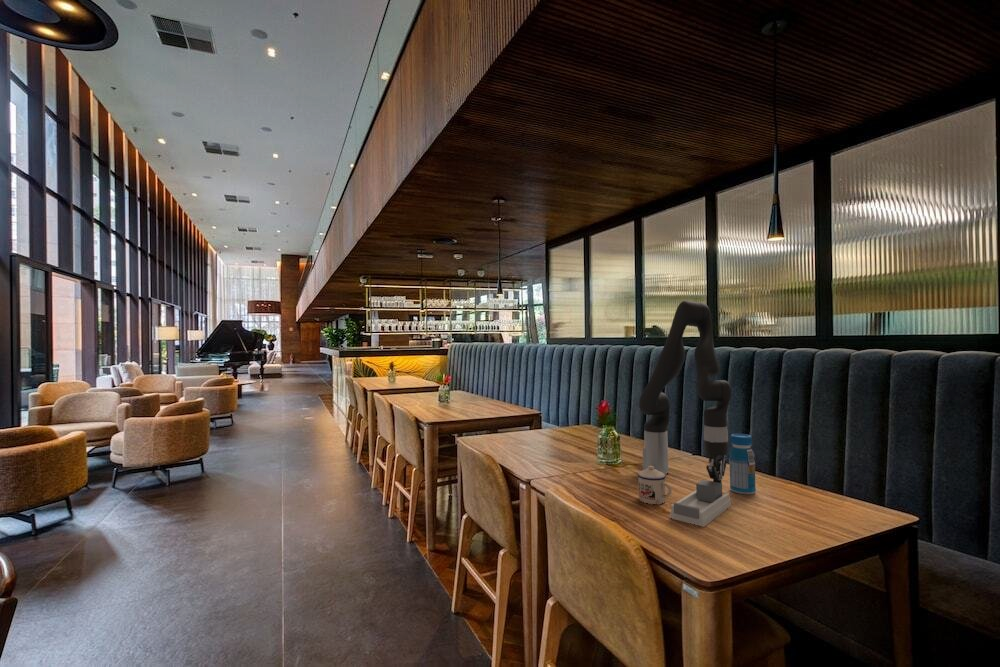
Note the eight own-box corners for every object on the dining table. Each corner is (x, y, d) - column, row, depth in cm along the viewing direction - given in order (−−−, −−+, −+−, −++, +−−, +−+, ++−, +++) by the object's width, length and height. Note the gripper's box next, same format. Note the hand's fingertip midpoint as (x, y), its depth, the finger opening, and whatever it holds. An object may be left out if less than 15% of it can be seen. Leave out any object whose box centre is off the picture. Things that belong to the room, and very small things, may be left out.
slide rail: (669, 518, 139) (669, 502, 139) (699, 499, 155) (699, 484, 156) (703, 527, 132) (702, 510, 132) (730, 506, 148) (730, 490, 149)
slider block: (696, 499, 149) (696, 483, 149) (703, 494, 153) (703, 479, 153) (715, 503, 145) (715, 487, 145) (722, 498, 149) (721, 483, 149)
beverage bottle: (733, 494, 160) (731, 437, 161) (727, 486, 168) (725, 432, 169) (759, 495, 158) (757, 438, 159) (752, 488, 166) (750, 433, 167)
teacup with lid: (632, 499, 156) (631, 465, 157) (648, 494, 162) (648, 461, 162) (663, 509, 146) (662, 473, 147) (679, 503, 152) (678, 468, 152)
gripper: (711, 434, 162) (713, 483, 161) (697, 440, 152) (698, 492, 152) (734, 437, 156) (735, 488, 156) (720, 443, 147) (722, 497, 146)
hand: (717, 490), depth 154 cm, fingers closed
